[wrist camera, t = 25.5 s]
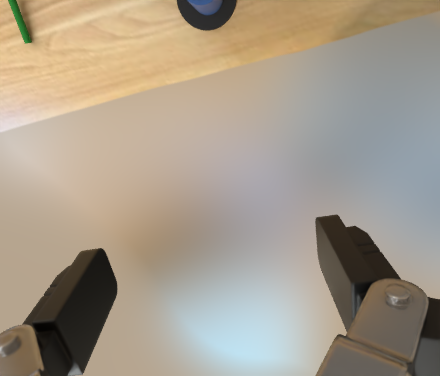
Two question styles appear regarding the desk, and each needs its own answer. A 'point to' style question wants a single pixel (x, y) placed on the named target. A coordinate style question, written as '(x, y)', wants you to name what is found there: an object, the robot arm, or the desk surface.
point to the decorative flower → (20, 21)
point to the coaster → (206, 20)
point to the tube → (206, 6)
